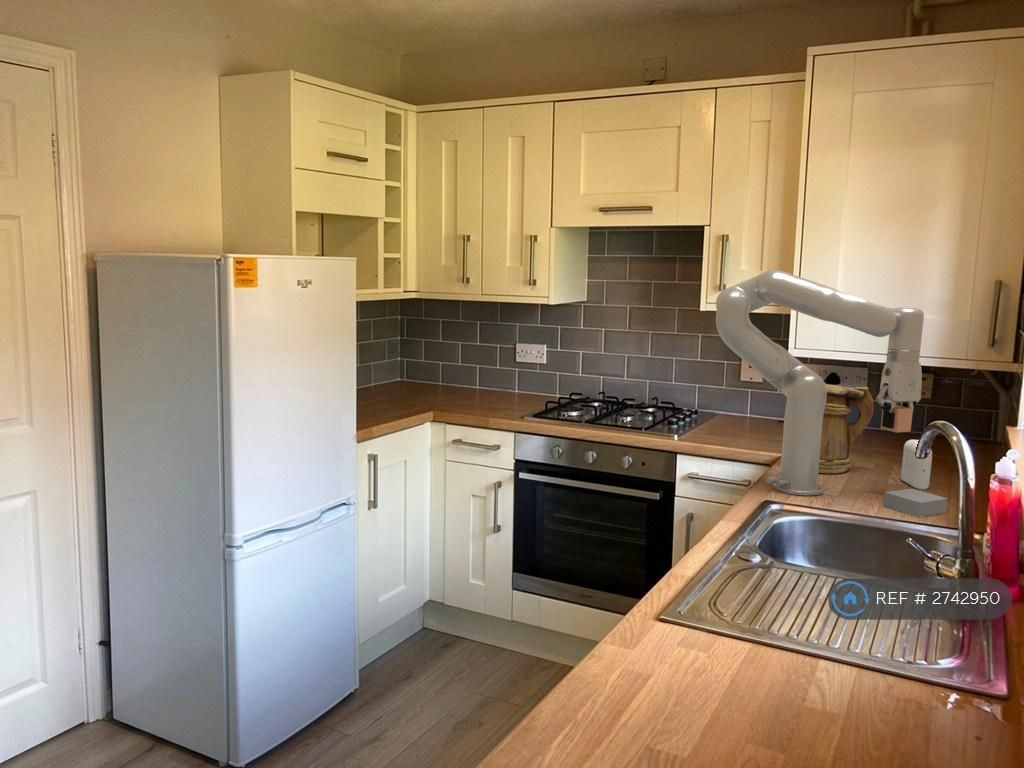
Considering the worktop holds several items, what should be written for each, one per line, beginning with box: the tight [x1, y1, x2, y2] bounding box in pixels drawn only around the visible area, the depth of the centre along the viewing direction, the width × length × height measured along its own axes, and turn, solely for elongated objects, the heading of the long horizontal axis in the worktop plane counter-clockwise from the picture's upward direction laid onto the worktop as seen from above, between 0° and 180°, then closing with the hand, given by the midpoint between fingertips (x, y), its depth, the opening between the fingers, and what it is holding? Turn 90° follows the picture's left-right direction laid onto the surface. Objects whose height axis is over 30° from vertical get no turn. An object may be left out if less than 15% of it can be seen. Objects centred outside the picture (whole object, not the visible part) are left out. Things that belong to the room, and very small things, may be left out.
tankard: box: [818, 383, 875, 475], centre depth 248 cm, size 18×24×25 cm
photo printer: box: [900, 439, 933, 490], centre depth 232 cm, size 10×4×12 cm, turn 0°
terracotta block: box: [880, 404, 914, 433], centre depth 217 cm, size 5×5×6 cm
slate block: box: [883, 488, 948, 518], centre depth 208 cm, size 10×10×4 cm
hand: (895, 426), depth 217 cm, fingers closed on terracotta block, 5 cm apart
